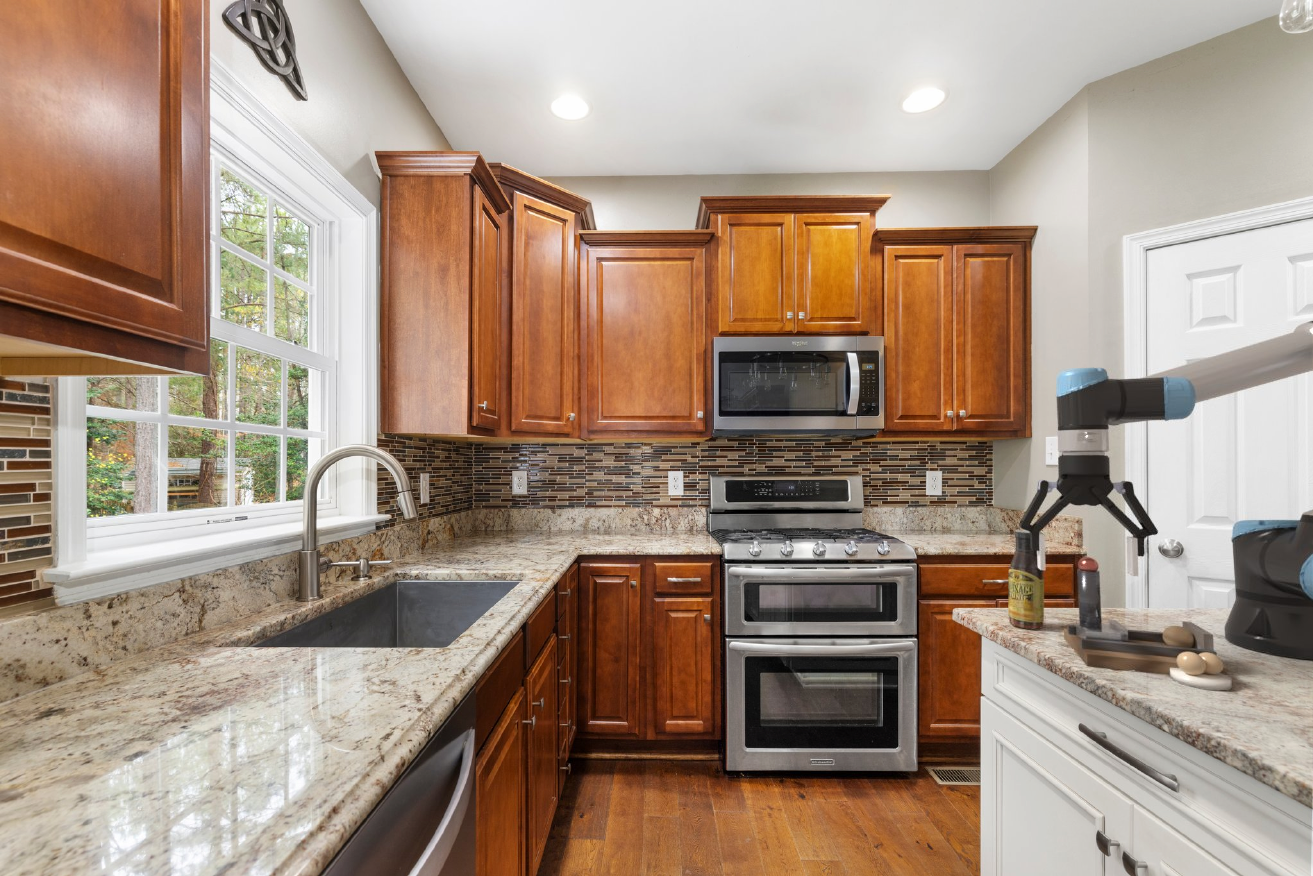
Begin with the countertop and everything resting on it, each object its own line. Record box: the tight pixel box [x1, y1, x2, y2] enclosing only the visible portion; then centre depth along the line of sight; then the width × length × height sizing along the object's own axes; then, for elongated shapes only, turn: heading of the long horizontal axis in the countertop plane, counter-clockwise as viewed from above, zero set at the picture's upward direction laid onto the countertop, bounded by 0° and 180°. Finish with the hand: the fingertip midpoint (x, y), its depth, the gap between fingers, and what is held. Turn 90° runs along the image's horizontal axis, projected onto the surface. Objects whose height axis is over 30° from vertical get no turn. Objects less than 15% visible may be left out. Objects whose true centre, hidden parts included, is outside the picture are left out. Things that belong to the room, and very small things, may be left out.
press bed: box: [1063, 620, 1228, 676], centre depth 102 cm, size 18×16×6 cm
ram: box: [1075, 556, 1129, 642], centre depth 104 cm, size 6×6×15 cm
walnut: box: [1162, 625, 1194, 648], centre depth 99 cm, size 4×4×4 cm
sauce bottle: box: [1007, 529, 1045, 630], centre depth 121 cm, size 7×6×20 cm
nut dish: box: [1169, 652, 1233, 692], centre depth 90 cm, size 7×7×5 cm
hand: (1086, 572), depth 105 cm, fingers open, 13 cm apart
